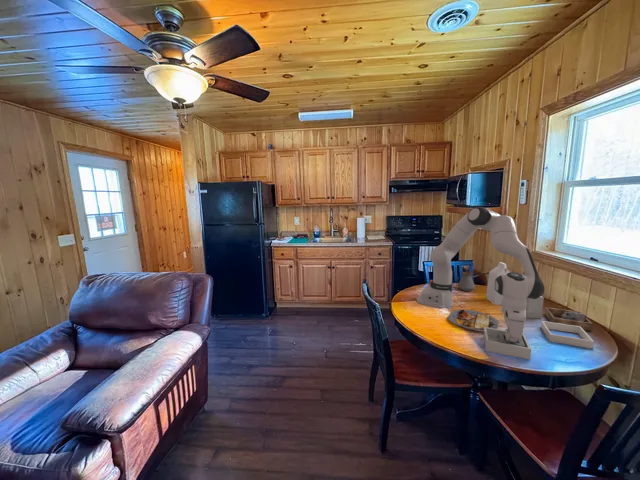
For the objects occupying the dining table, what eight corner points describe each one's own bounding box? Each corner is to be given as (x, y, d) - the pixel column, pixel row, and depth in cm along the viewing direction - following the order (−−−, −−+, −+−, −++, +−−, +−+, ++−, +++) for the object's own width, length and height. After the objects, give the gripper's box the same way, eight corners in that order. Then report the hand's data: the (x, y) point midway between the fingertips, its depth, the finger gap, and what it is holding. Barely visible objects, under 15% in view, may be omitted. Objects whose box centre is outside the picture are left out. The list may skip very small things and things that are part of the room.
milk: (514, 305, 165) (518, 265, 161) (494, 304, 167) (497, 265, 163) (504, 298, 177) (507, 260, 173) (486, 297, 179) (488, 260, 175)
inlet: (499, 349, 118) (500, 341, 117) (497, 340, 126) (497, 332, 125) (524, 354, 114) (525, 346, 113) (520, 344, 122) (521, 336, 121)
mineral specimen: (566, 332, 141) (587, 328, 139) (572, 328, 135) (594, 324, 132) (554, 315, 147) (574, 311, 145) (559, 310, 140) (581, 306, 138)
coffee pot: (457, 291, 193) (458, 271, 190) (457, 286, 203) (458, 267, 200) (492, 294, 184) (493, 274, 181) (489, 289, 194) (491, 269, 191)
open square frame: (549, 341, 125) (550, 334, 124) (540, 327, 138) (541, 320, 137) (593, 348, 118) (594, 341, 117) (579, 333, 131) (580, 326, 130)
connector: (506, 344, 119) (507, 328, 118) (504, 340, 122) (506, 324, 121) (516, 347, 117) (518, 330, 116) (515, 342, 121) (516, 326, 119)
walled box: (485, 350, 119) (486, 340, 118) (483, 336, 131) (484, 326, 130) (530, 360, 111) (531, 349, 110) (523, 343, 123) (524, 333, 123)
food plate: (455, 309, 163) (455, 303, 162) (500, 319, 148) (500, 313, 147) (444, 326, 144) (444, 320, 143) (494, 339, 129) (495, 333, 128)
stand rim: (552, 325, 139) (553, 318, 139) (544, 313, 153) (545, 307, 152) (591, 331, 132) (592, 323, 132) (579, 318, 145) (580, 311, 145)
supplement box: (542, 318, 147) (544, 297, 145) (527, 318, 148) (529, 296, 146) (534, 313, 154) (536, 292, 152) (520, 312, 155) (522, 292, 153)
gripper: (501, 299, 128) (499, 326, 130) (508, 317, 110) (506, 347, 112) (517, 301, 125) (515, 328, 127) (527, 319, 107) (524, 350, 109)
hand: (511, 337), depth 119 cm, fingers closed on connector, 4 cm apart
